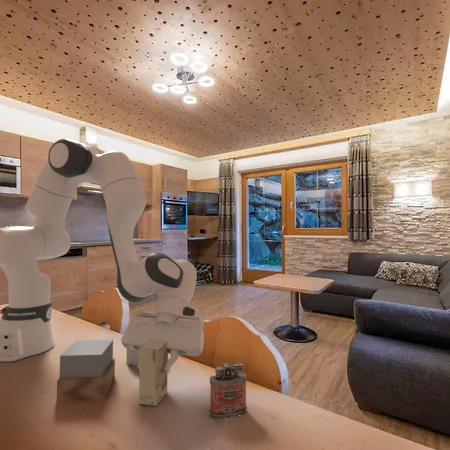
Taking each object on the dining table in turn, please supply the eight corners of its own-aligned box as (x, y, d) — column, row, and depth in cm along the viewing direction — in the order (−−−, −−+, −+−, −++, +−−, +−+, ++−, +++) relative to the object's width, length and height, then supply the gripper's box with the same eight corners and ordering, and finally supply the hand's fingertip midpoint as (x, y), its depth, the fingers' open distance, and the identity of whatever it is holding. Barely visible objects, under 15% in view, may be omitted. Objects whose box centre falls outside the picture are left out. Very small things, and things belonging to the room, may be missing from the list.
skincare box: (156, 407, 61) (157, 350, 61) (137, 404, 62) (139, 348, 62) (168, 391, 67) (169, 339, 68) (151, 388, 68) (152, 337, 69)
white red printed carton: (151, 356, 86) (152, 323, 86) (136, 365, 80) (137, 330, 80) (142, 354, 88) (142, 321, 88) (126, 363, 81) (127, 328, 82)
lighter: (211, 421, 57) (211, 371, 57) (207, 411, 60) (208, 363, 60) (248, 415, 59) (249, 366, 59) (243, 405, 62) (244, 359, 62)
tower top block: (59, 378, 63) (60, 355, 64) (76, 360, 72) (76, 340, 73) (101, 376, 64) (101, 354, 65) (112, 359, 73) (113, 339, 73)
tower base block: (56, 403, 62) (57, 380, 63) (73, 380, 72) (74, 360, 72) (103, 400, 64) (104, 377, 64) (114, 377, 74) (115, 358, 74)
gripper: (129, 306, 74) (106, 360, 64) (205, 311, 70) (192, 370, 60) (138, 318, 78) (117, 370, 68) (209, 323, 74) (198, 380, 64)
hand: (153, 370), depth 64 cm, fingers closed on skincare box, 4 cm apart
